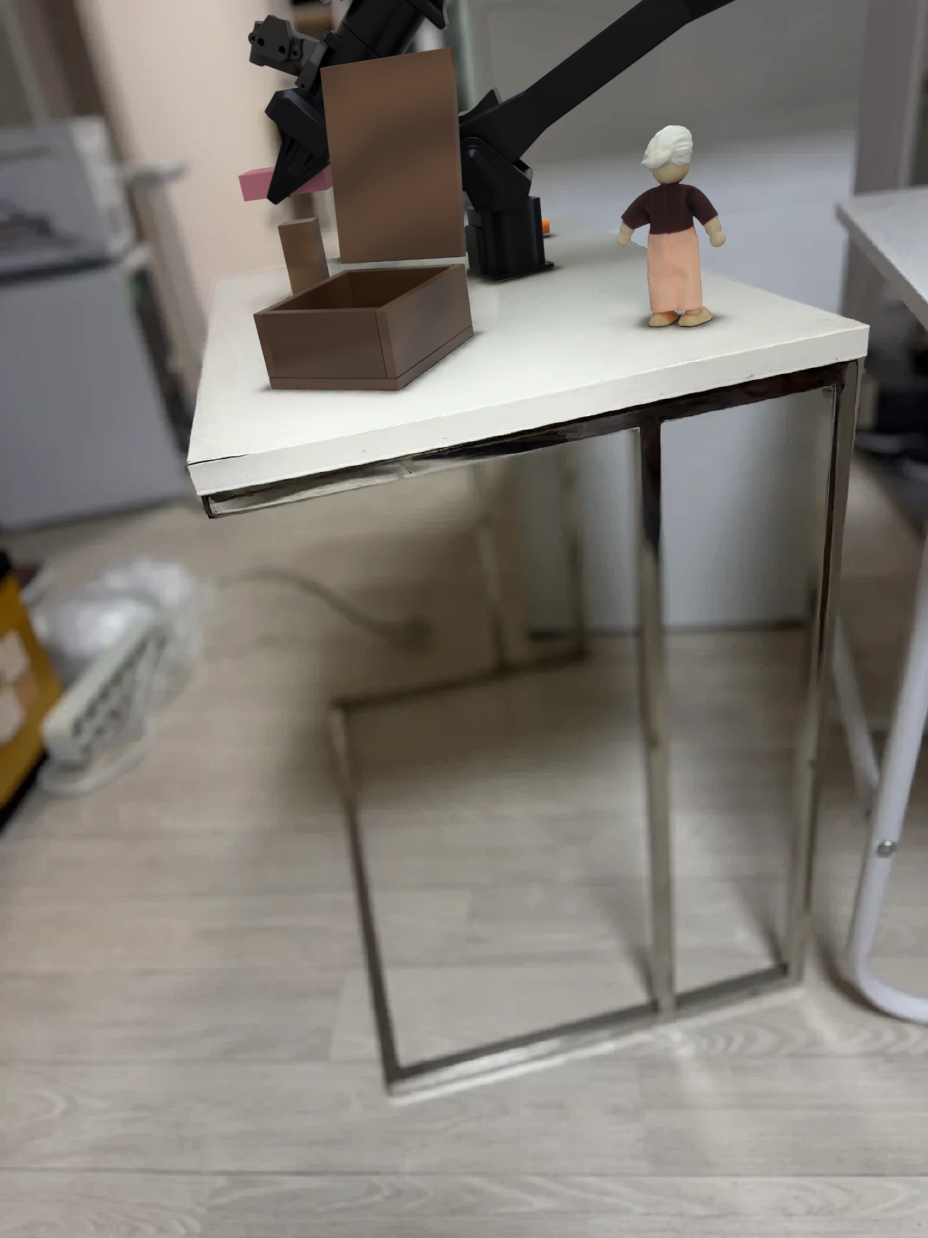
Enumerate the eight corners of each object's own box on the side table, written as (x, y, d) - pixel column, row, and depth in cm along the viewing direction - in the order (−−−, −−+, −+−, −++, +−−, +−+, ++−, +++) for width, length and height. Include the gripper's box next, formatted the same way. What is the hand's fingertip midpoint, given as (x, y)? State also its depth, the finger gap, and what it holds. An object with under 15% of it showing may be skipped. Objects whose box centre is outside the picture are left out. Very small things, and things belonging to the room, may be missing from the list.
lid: (449, 47, 63) (454, 48, 63) (319, 68, 67) (325, 69, 68) (461, 257, 68) (466, 256, 69) (340, 264, 72) (346, 263, 73)
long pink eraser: (336, 183, 88) (332, 158, 87) (327, 190, 84) (322, 163, 83) (257, 194, 89) (251, 169, 88) (244, 201, 85) (237, 175, 84)
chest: (399, 390, 62) (385, 310, 59) (270, 388, 66) (252, 314, 63) (474, 334, 71) (465, 263, 68) (357, 336, 76) (344, 269, 73)
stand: (332, 291, 93) (317, 216, 89) (327, 297, 90) (311, 221, 87) (300, 295, 93) (284, 221, 89) (294, 301, 91) (277, 226, 87)
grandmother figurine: (728, 311, 67) (731, 115, 61) (723, 326, 64) (725, 122, 58) (624, 316, 70) (615, 129, 63) (614, 331, 67) (604, 136, 60)
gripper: (315, -20, 85) (233, 130, 93) (260, -32, 70) (167, 150, 77) (412, 65, 88) (325, 204, 96) (380, 72, 73) (280, 237, 80)
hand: (277, 197), depth 87 cm, fingers closed on long pink eraser, 4 cm apart
